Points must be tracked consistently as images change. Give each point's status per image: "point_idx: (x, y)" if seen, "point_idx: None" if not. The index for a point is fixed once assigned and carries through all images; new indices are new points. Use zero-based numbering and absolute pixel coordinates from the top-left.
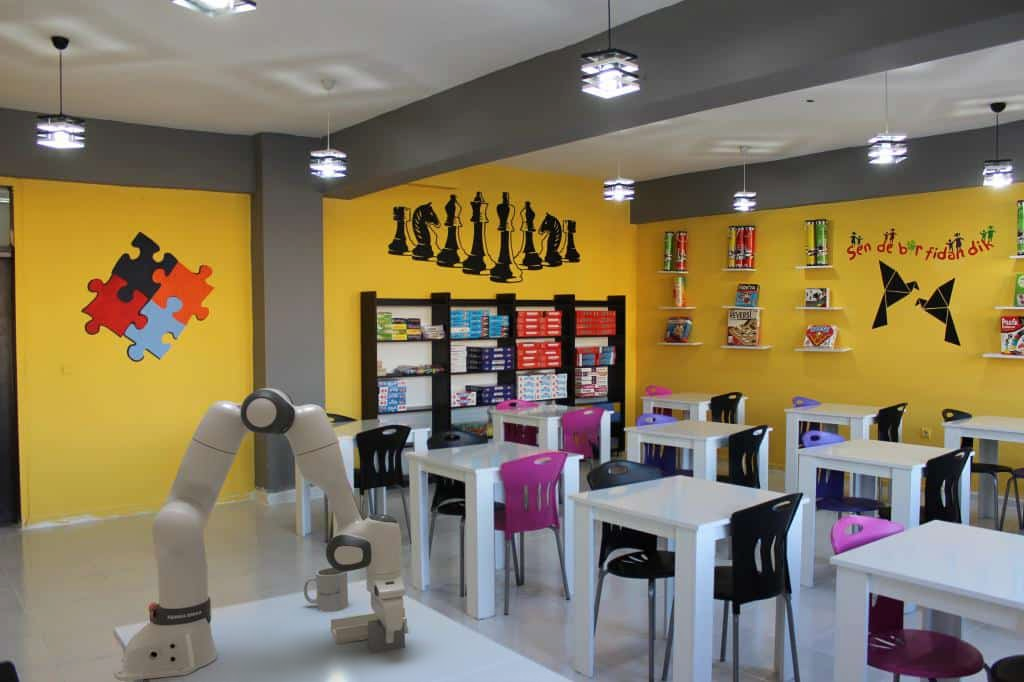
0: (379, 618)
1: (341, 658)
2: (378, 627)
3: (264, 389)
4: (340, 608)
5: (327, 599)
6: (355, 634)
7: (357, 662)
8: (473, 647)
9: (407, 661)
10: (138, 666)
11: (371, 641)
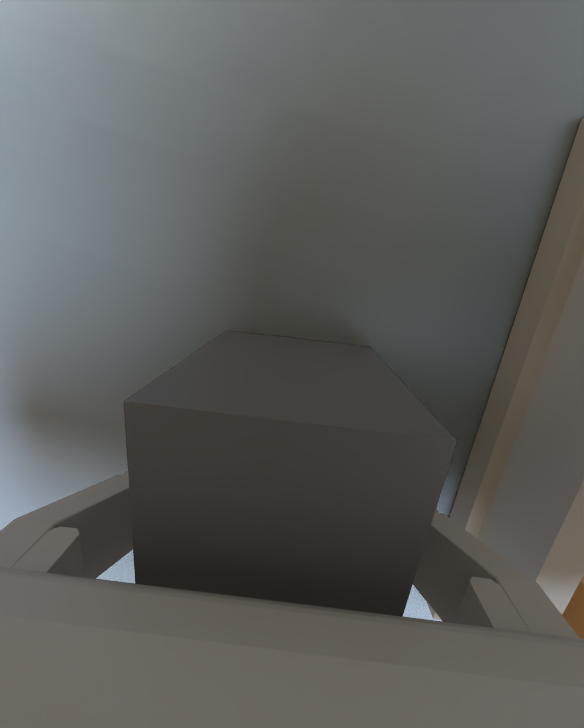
0: (172, 625)
1: (225, 57)
2: (134, 481)
3: None
4: None
5: None
6: (579, 300)
7: (87, 169)
8: None
9: (3, 457)
10: None
11: (237, 349)
